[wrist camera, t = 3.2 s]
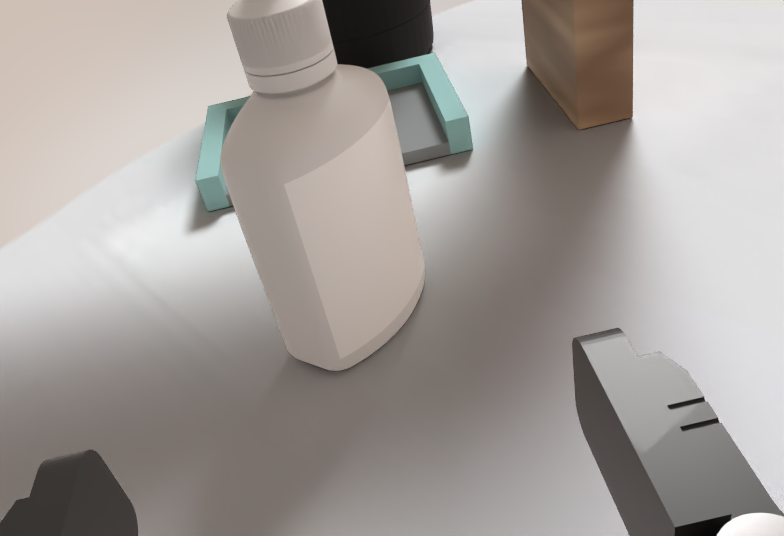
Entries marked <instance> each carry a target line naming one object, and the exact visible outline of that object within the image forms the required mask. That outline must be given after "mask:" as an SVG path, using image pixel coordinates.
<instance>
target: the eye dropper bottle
mask: <svg viewBox="0 0 784 536" xmlns="http://www.w3.org/2000/svg"><path fill="white" fill-rule="evenodd" d="M227 19H228V22H229V25H230V28H231V31H232V34H233V37H234V41H235V44H236V47H237V50H238V53H239V56H240V59H241V62H242V65H243V68H244V71H245V74H246V77H247V81H248V83H249V86H250V88H251V89H252V90H254V92H253V94H252V95H251V97H250V98H249V99H248V100H247V102H246V103H245V104H244V106H243V107H242V109H241V110H240V112H239V113H238V115H237V117H236V118H235V120H234V122H233V124H232V125H231V127H230V129H229V131H228V134H227V136H226V138H225V141H224V144H223V147H222V151H221V168H222V172H223V177H224V180H225V183H226V186H227V189H228V192H229V195H230V197H231V200H232V203H233V206H234V209H235V212H236V215H237V217H238V220H239V223H240V225H241V228H242V231H243V234H244V236H245V239H246V242H247V244H248V247H249V250H250V252H251V255H252V258H253V261H254V263H255V266H256V269H257V271H258V274H259V277H260V279H261V282H262V285H263V287H264V290H265V293H266V295H267V298H268V301H269V303H270V306H271V309H272V311H273V314H274V316H275V319H276V322H277V324H278V327H279V330H280V332H281V335H282V338H283V340H284V343H285V346H286V348H287V350H288V352H289V353H290V354H291V355H292V356H294V357H295V358H296V359H299V360H301V361H304V362H307V363H309V364H312V365H315V366H318V367H321V368H324V369H327V370H331V371H341V370H344V369H348V368H350V367H352V366H354V365H355V364H357V363H359V362H360V361H362V360H364V359H365V358H367V357H368V356H369V355H371V354H372V353H374V352H375V351H376V350H378V349H379V348H380V347H381V346H383V345H384V344H385V343H386V342H387V341H388V340H389V339H391V338H392V337H393V336H394V335H395V334H396V333H397V332H398V330H399V329H400V328H401V327H402V326H403V325H404V323H405V322H406V321H407V319H408V318H409V316H410V315H411V313H412V312H413V310H414V308H415V306H416V304H417V302H418V300H419V298H420V295H421V292H422V289H423V285H424V281H425V264H424V259H423V254H422V249H421V244H420V239H419V234H418V230H417V225H416V220H415V215H414V210H413V205H412V200H411V195H410V191H409V186H408V181H407V176H406V171H405V167H404V162H403V157H402V152H401V148H400V143H399V138H398V133H397V129H396V124H395V120H394V116H393V111H392V107H391V103H390V98H389V95H388V92H387V89H386V86H385V85H384V83H383V81H382V80H381V78H380V77H379V76H378V75H377V74H376V73H374V72H373V71H370V70H368V69H366V68H363V67H359V66H354V65H343V64H337V59H336V55H335V51H334V47H333V43H332V39H331V35H330V31H329V27H328V23H327V18H326V14H325V10H324V6H323V2H322V0H238V1H237V2H236V3H235V4H234V5H232V7H231V8H230V9H229V11H228V13H227Z"/></svg>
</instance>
